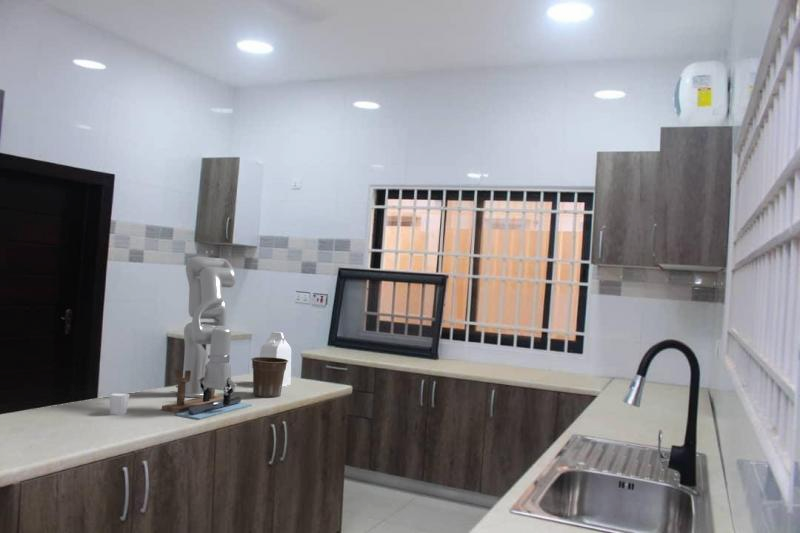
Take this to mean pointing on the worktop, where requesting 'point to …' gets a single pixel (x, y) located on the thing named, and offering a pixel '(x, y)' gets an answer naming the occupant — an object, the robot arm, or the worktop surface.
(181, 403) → the rack
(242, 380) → the worktop surface
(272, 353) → the milk
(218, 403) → the rod
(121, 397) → the white cup
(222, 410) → the mat
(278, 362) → the plant pot
